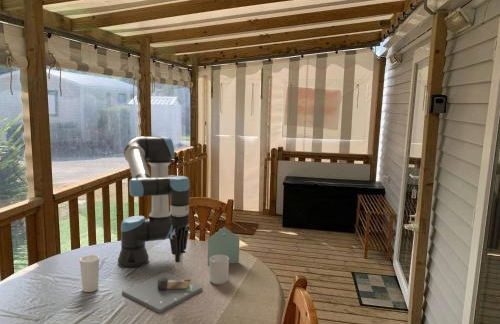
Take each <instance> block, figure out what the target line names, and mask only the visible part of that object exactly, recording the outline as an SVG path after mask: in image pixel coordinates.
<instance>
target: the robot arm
mask: <svg viewBox="0 0 500 324" xmlns="http://www.w3.org/2000/svg"><path fill="white" fill-rule="evenodd" d="M123 156H124V159H125V160H126V162H128V167H129V170H130V175H131V179H129V183H128V184H129V185H128V187H129V190H128V191H129V195H130V196H131V197H134V198H135V197H138V198H142V197H151V211H150V213H149V214H148V218H146V217H145V216H143V215H133V216H129V217H126V218H125V219H123V220H122V221H121V224H120V233H121V234H120V237H121V240H120V243H121V245H120V246H121V249H120V251H119V254H118V255H119V256H118V258H117V264H118V266H119V267H122V268H126V269H131V268H139V267H143V266H145V265H146V264H148V263H149V262H150V261H149V260H150V258H149V255H148V254H149V253H148V251H147V248H146V242H153V241H164V240H169V243H170V250H171V255H174V259H175V260H174V261H175V262H174V264H175V265H174V268H175V269H177V270H183V265H184V263H183V261H184V260H183V259H184V256H183V255H184V254H186V250H187V246H188V237H189V236H188V235H189V231H190V226H188V224H189V222H190V217H189V216H190V214H189V213H190V212H189V211H190V189H191V188H190V187H191V185H190V178H189V177H187V176H184V175H174V174H170V175H169V165H170V164H171V163H172V160H173V159H175V146H174V142H173V139H172V138H171V137H169V136H162V135H161V136H138V137H135V138H133V139H131V140H129V142H128V143H127V144H126V145H125V147H124V150H123ZM146 160H147V161H146ZM147 163H148V164H149V166H150V171H151V172H150V171H149V168H148V165H147ZM169 196H170V197H169ZM169 198H170V202H169ZM169 203H170V207H169ZM169 209H170V210H169Z"/></svg>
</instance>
